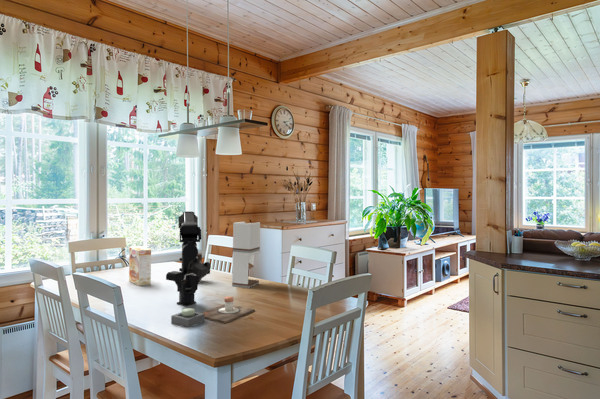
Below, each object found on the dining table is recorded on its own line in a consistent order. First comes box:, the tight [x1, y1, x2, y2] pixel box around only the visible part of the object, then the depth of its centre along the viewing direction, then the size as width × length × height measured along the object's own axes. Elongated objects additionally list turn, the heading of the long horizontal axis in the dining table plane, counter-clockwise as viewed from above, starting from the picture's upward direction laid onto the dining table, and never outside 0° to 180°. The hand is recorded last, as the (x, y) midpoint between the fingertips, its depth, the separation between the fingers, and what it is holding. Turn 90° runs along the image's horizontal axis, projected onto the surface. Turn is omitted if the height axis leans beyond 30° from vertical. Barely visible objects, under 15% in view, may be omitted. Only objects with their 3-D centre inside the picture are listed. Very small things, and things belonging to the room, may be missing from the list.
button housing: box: [170, 311, 206, 328], centre depth 161 cm, size 9×9×3 cm
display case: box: [231, 221, 261, 289], centre depth 226 cm, size 11×11×35 cm
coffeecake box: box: [128, 245, 152, 287], centre depth 227 cm, size 15×7×20 cm, turn 42°
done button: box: [181, 308, 196, 317], centre depth 161 cm, size 5×5×2 cm
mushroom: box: [224, 295, 235, 311], centre depth 175 cm, size 4×4×6 cm
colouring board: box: [200, 303, 256, 324], centre depth 173 cm, size 16×20×1 cm
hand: (188, 294), depth 161 cm, fingers open, 5 cm apart
